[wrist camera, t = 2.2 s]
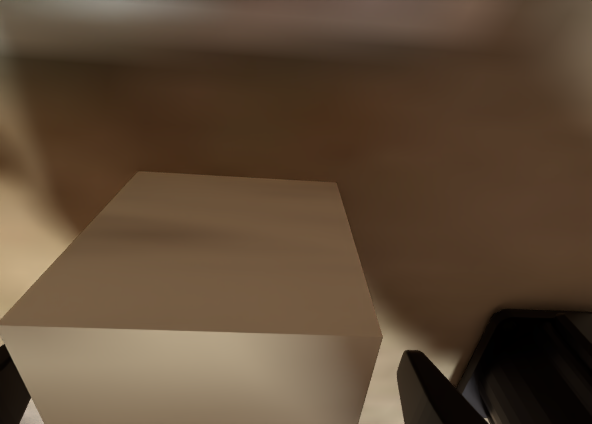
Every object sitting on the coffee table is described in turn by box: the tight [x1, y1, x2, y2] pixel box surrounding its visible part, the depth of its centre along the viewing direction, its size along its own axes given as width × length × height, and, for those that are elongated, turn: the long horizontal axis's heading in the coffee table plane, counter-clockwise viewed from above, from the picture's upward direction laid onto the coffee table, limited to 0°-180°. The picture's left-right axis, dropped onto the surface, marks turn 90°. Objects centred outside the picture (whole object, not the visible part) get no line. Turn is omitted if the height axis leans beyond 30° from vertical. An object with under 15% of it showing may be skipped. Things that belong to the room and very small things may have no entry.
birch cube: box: [0, 171, 383, 424], centre depth 10 cm, size 6×6×6 cm
